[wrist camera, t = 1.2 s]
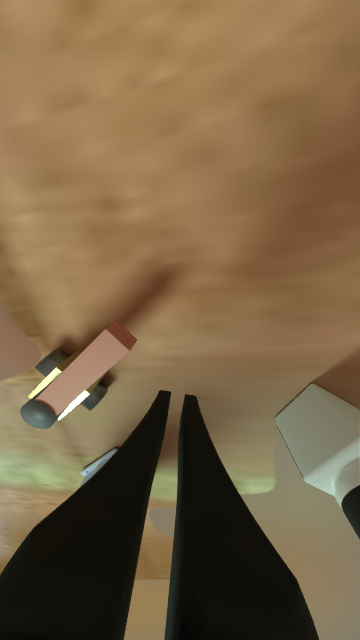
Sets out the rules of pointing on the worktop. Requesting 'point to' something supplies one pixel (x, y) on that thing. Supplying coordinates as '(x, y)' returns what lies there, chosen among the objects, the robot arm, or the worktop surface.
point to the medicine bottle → (326, 445)
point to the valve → (54, 367)
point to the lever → (78, 376)
